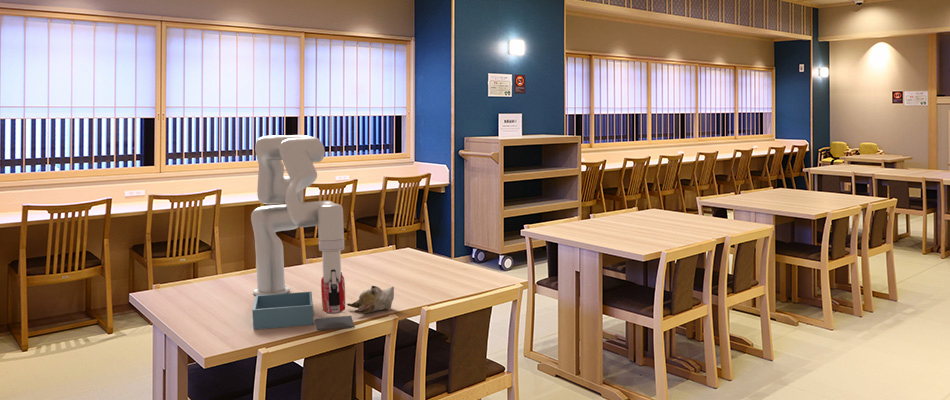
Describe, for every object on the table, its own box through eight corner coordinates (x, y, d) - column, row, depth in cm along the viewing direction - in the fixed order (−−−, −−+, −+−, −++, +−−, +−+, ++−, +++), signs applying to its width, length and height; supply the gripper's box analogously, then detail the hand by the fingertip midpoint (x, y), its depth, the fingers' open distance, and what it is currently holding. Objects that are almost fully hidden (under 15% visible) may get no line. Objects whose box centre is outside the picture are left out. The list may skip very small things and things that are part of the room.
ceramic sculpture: (398, 285, 222) (353, 293, 215) (401, 311, 223) (356, 320, 217) (387, 278, 231) (344, 286, 225) (390, 303, 232) (347, 312, 226)
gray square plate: (315, 320, 214) (315, 318, 214) (351, 317, 217) (351, 315, 217) (316, 330, 204) (316, 328, 204) (354, 327, 206) (354, 325, 206)
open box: (256, 313, 223) (255, 295, 222) (312, 309, 227) (311, 291, 226) (253, 329, 206) (252, 310, 205) (313, 324, 210) (312, 305, 209)
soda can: (337, 307, 215) (335, 269, 213) (350, 311, 210) (349, 273, 208) (317, 312, 210) (316, 273, 209) (330, 316, 205) (329, 277, 204)
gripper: (317, 240, 215) (320, 296, 217) (319, 250, 198) (322, 310, 200) (342, 239, 217) (344, 294, 219) (346, 249, 200) (348, 308, 202)
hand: (333, 301), depth 210 cm, fingers closed on soda can, 7 cm apart
